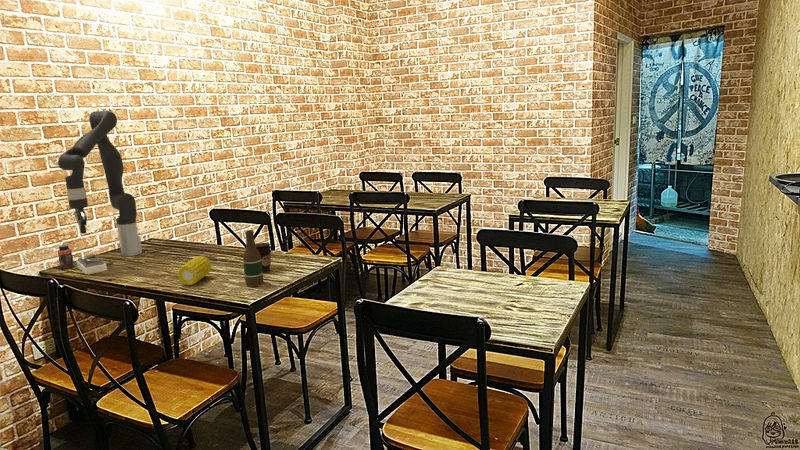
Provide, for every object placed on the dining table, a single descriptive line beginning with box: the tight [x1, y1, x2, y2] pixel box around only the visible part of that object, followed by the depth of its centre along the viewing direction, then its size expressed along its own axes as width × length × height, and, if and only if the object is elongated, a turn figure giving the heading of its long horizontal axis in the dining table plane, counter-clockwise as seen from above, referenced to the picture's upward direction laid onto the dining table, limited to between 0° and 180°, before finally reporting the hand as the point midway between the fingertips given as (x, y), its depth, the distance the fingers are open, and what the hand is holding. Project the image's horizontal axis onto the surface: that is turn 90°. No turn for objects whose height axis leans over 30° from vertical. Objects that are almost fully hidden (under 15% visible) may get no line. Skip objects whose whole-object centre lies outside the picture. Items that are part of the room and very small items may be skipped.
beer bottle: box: [242, 229, 264, 287], centre depth 229 cm, size 8×8×24 cm
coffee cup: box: [255, 242, 272, 274], centre depth 248 cm, size 9×8×13 cm
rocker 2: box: [85, 258, 101, 264], centre depth 257 cm, size 6×4×2 cm
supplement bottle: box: [57, 244, 75, 270], centre depth 263 cm, size 6×6×11 cm
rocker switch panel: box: [75, 254, 114, 275], centre depth 263 cm, size 14×18×5 cm
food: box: [177, 255, 212, 286], centre depth 238 cm, size 15×12×10 cm
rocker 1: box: [79, 252, 97, 260], centre depth 264 cm, size 6×4×2 cm
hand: (83, 233), depth 253 cm, fingers closed
